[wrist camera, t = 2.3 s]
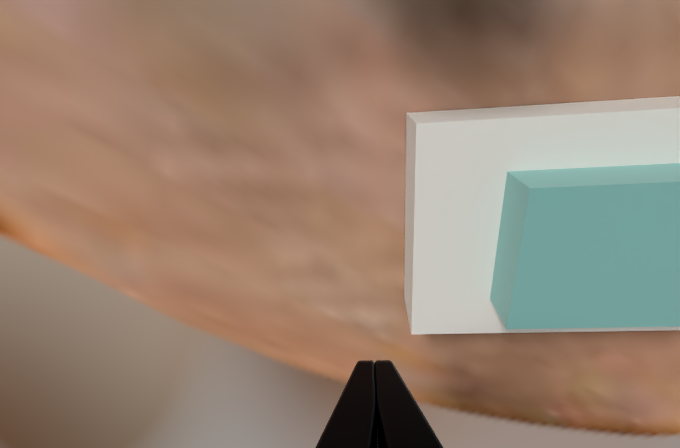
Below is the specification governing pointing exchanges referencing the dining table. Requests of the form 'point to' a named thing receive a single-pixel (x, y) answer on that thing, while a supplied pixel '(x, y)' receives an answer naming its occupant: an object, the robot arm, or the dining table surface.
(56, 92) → the dining table surface
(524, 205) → the teal rectangular block
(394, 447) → the robot arm
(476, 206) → the block
